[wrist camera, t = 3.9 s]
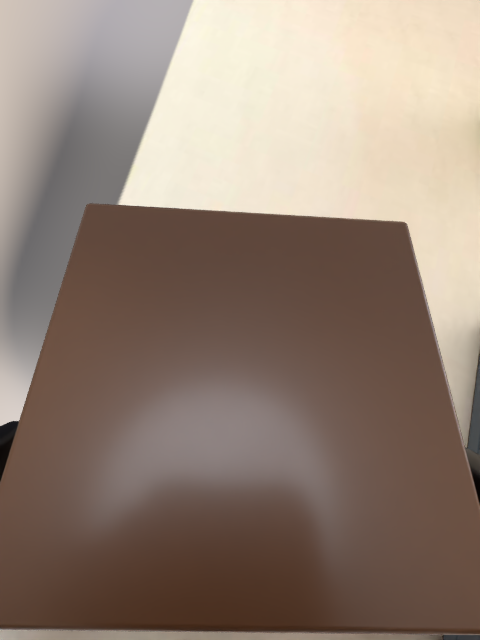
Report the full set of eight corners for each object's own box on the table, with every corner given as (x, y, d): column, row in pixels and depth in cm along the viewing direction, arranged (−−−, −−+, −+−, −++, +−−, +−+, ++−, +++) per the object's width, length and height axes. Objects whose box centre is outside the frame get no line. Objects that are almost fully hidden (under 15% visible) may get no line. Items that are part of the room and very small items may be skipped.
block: (283, 524, 14) (518, 639, 3) (163, 521, 14) (-51, 633, 3) (280, 404, 16) (407, 220, 5) (176, 400, 16) (84, 201, 5)
